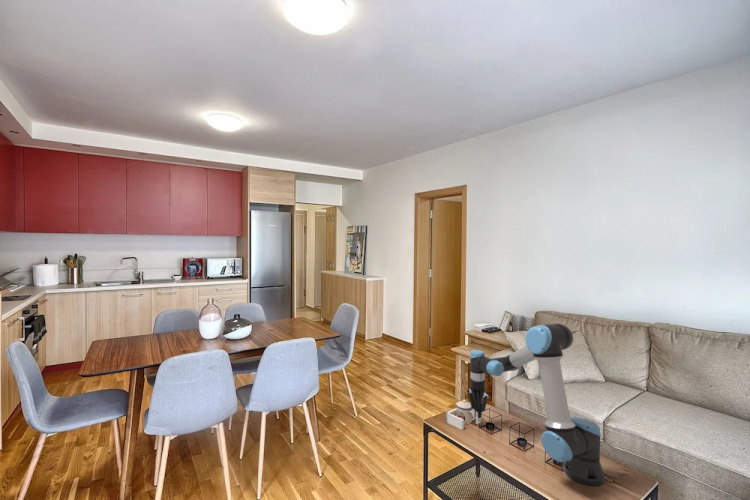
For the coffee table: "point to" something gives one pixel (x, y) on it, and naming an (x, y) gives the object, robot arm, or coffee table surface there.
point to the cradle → (456, 419)
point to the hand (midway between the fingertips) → (478, 423)
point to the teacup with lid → (464, 411)
